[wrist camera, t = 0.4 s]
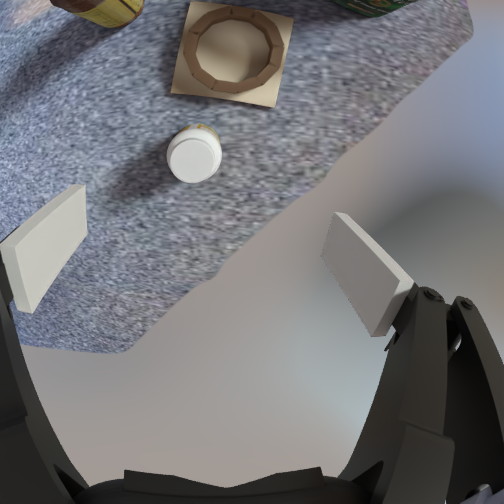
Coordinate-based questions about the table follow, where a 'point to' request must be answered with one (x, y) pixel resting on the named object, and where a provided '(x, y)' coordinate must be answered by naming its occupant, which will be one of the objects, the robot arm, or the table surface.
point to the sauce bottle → (103, 10)
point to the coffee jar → (374, 6)
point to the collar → (232, 53)
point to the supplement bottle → (194, 153)
